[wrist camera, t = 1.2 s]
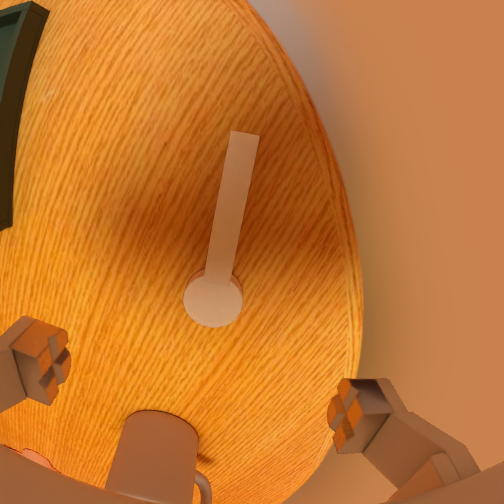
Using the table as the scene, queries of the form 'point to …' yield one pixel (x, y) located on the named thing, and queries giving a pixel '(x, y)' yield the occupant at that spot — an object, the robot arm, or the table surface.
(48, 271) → the table surface
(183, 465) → the mug
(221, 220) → the spoon
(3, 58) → the tray
